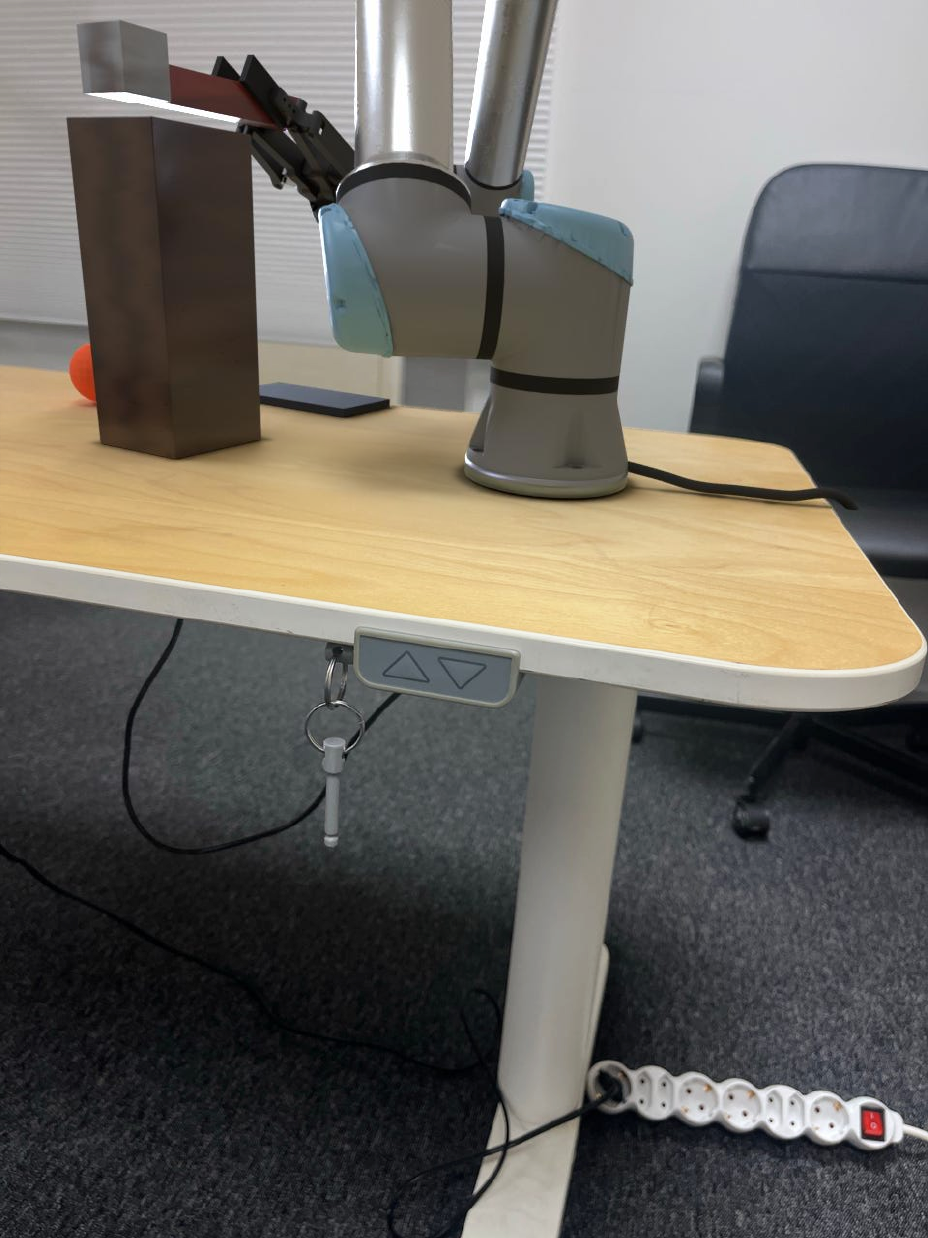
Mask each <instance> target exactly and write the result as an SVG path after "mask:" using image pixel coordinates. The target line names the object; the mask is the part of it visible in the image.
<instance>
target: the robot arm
mask: <svg viewBox="0 0 928 1238" xmlns="http://www.w3.org/2000/svg"><path fill="white" fill-rule="evenodd" d="M559 1H560V0H485V8H484V15H483V16H484V17H483V21H482V22H483V23H482V31H481V40H480V45H479V54H478V60H477V68H476V74H475V82H474V91H473V98H472V105H471V111H470V120H469V127H468V135H467V142H466V150H465V158H464V164H455V163H454V0H355V57H354V58H355V62H354V63H355V65H354V67H355V68H354V69H355V70H354V71H355V72H354V73H355V74H354V75H355V76H354V78H355V79H354V148H353V147H352V146H351V145H350V144H349V143H348V141H347V140H346V139H345V138H344V137H343V135H342V134H340V131H338V130H337V129H336V128H335V126H334V125H333V124H332V123H331V122H330V120H329V119H328V118H327V117H326V116H325V115H324V114H323V112H322V111H320V110H317V109H314V110H312V112H311V113H309V112H307V111H306V110H307V107H308V105H309V103H308V101H306V100H305V99H302V98H301V99H297V101H296V104H295V103H294V102H293V100H292V99H291V98H290V97H289V95H290V94H289V93H288V92H287V91H286V90H285V89H283V88H282V87H281V86H279V85H278V83H277V82H276V81H275V79H274V78H273V77H272V76H271V74H270V73H269V72H268V71H267V69H266V68H265V67H264V65H263V64H262V63H261V62H260V61H259V59H258V58H257V57H256V55H255V54H247V55H246V58H245V60H244V64H243V67H242V70H241V73H240V74H239V73H238V72H237V70H236V69H235V68H234V67H233V66H232V64H231V63H230V62H229V60H227V58H226V57H225V56H224V55H218V56H216V59H215V61H214V65H213V67H212V70H211V74H210V75H213V76H217V77H221V78H225V79H229V80H232V81H236V82H240V83H241V84H242V85H243V87H244V88H245V89H246V90H247V91H248V93H249V94H250V95H251V96H252V97H253V99H254V100H255V101H256V102H257V103H258V104H259V106H260V107H261V108H262V109H263V110H264V112H265V113H266V114H267V115H268V116H269V118H270V119H271V120H272V121H273V122H274V123H275V125H276V126H277V127H278V128H285V126H286V123H287V124H288V129H287V130H288V131H287V132H288V133H289V135H290V136H288V134H286V132H285V131H276V130H271V129H266V128H261V127H256V126H251V125H246V124H241V123H237V126H236V129H235V131H234V132H239V133H244V134H250V135H251V154H252V158H253V159H254V160H255V161H256V162H257V163H258V165H259V166H260V167H261V168H262V170H264V171H265V173H266V174H267V176H269V179H270V182H271V185H272V187H274V188H275V189H276V190H279V191H281V190H283V188H284V186H286V185H287V186H291V187H292V188H293V187H294V188H295V190H296V192H297V193H298V194H299V195H300V196H302V197H303V198H305V199H306V200H307V201H308V202H309V206H310V209H311V213H312V216H313V219H314V221H315V222H316V223H317V224H318V226H319V237H320V247H321V255H322V261H323V273H324V282H325V291H326V299H327V306H328V316H329V322H330V328H331V332H332V333H331V334H332V336H333V339H334V341H335V342H336V343H337V345H338V346H339V347H340V348H341V349H343V350H345V351H347V352H349V353H356V354H364V355H365V354H367V355H376V356H381V357H383V358H385V359H390V358H392V357H405V358H406V357H407V358H408V357H409V358H436V359H437V358H439V359H441V358H442V359H459V360H484V361H485V360H486V361H490V370H489V386H488V392H487V394H486V397H485V400H484V403H483V405H482V408H481V410H480V412H479V416H478V419H477V421H476V424H475V426H474V429H473V431H472V434H471V437H470V440H469V443H468V445H467V448H466V452H465V455H464V467H463V468H464V469H463V471H464V475H465V476H466V477H467V478H468V479H470V480H471V481H473V482H475V483H476V484H479V485H481V486H483V487H486V488H490V489H493V490H497V491H500V492H506V493H511V494H515V495H522V496H530V497H539V498H553V499H585V498H597V497H603V496H608V495H612V494H615V493H619V492H621V491H623V490H624V489H625V488H626V487H627V483H628V478H629V477H628V476H629V473H631V474H634V475H637V476H642V477H646V478H649V479H652V480H657V481H659V482H663V483H666V484H668V485H672V486H674V487H678V488H680V489H685V490H688V491H693V492H697V493H705V494H712V495H722V496H723V495H724V496H735V497H743V498H750V499H751V498H753V499H759V500H760V499H761V500H770V501H777V502H778V501H780V502H804V501H811V500H819V499H829V500H833V501H835V502H837V503H838V504H839V505H841V506H842V507H843V508H844V509H845V510H849V511H859V510H860V509H859V507H858V505H857V503H856V502H855V500H854V499H852V497H851V496H849V495H848V494H847V493H845V492H844V491H842V490H841V489H837V488H832V487H812V488H805V489H794V490H790V489H789V490H787V489H775V488H767V487H766V488H765V487H757V486H748V485H740V484H729V483H717V482H710V481H709V482H707V481H701V480H697V479H692V478H687V477H684V476H682V475H678V474H675V473H672V472H669V471H667V470H663V469H659V468H656V467H653V466H648V465H645V464H641V463H638V462H634V461H631V460H629V459H628V452H627V447H626V442H625V436H624V432H623V431H624V430H623V425H622V421H621V416H620V415H621V414H620V410H619V405H618V404H619V403H618V395H619V394H618V393H619V385H620V376H621V368H622V360H623V353H624V345H625V344H624V343H625V338H626V337H625V336H626V328H627V321H628V320H627V319H628V314H629V313H628V312H629V303H630V297H631V287H634V279H633V278H634V258H635V257H634V256H635V239H634V235H633V232H632V230H631V229H630V228H629V227H628V226H627V225H626V224H625V223H624V222H622V221H620V220H618V219H615V218H612V217H610V216H607V215H606V216H605V215H603V214H602V215H601V214H598V213H595V212H590V211H587V210H582V209H577V208H573V207H567V206H563V205H557V204H551V203H547V202H538V201H535V178H534V175H533V173H532V172H531V171H530V170H528V169H524V167H525V163H526V158H527V155H528V149H529V144H530V141H531V135H532V131H533V125H534V119H535V115H536V111H537V105H538V101H539V96H540V91H541V87H542V82H543V77H544V73H545V68H546V63H547V58H548V54H549V49H550V44H551V39H552V34H553V29H554V25H555V21H556V14H557V11H558V6H559ZM320 130H321V133H320ZM291 138H292V139H291Z"/></svg>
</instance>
